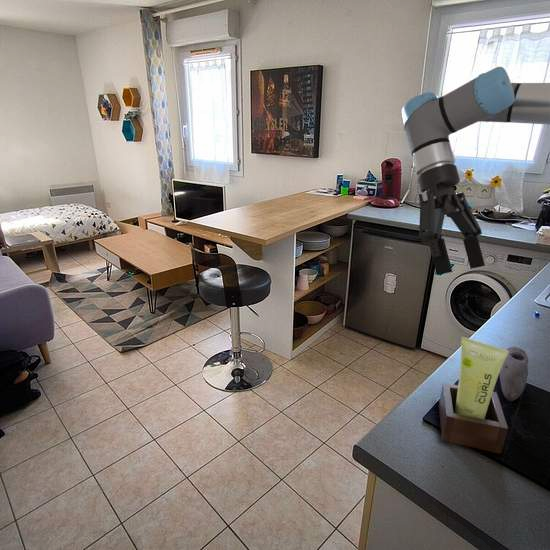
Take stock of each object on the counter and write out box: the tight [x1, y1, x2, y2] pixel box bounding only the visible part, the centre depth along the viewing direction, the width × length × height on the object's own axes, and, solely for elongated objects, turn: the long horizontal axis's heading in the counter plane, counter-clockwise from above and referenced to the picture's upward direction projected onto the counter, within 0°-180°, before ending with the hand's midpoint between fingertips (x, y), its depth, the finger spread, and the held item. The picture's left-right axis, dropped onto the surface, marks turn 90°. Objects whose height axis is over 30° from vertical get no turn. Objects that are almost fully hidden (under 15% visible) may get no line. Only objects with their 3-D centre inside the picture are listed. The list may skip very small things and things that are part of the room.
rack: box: [438, 382, 509, 455], centre depth 70 cm, size 10×10×6 cm
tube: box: [454, 336, 509, 420], centre depth 68 cm, size 6×5×20 cm
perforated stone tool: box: [499, 346, 529, 402], centre depth 80 cm, size 15×5×7 cm, turn 145°
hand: (462, 270), depth 73 cm, fingers open, 13 cm apart
